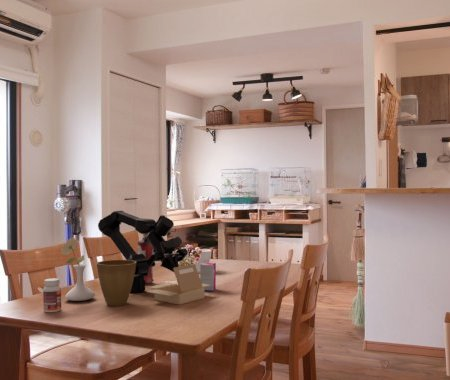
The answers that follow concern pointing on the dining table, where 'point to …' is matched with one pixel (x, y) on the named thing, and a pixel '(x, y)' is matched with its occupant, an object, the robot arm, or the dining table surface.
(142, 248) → the liquor
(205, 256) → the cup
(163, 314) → the dining table surface
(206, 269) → the supplement box
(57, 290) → the pill bottle
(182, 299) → the carton
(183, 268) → the flap
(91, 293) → the flower in vase
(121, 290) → the plant pot
